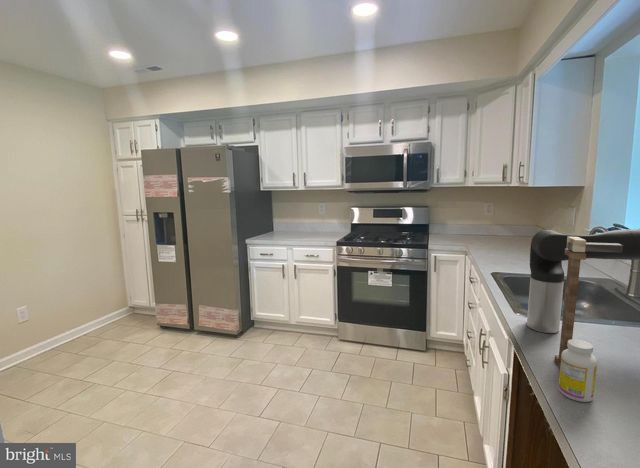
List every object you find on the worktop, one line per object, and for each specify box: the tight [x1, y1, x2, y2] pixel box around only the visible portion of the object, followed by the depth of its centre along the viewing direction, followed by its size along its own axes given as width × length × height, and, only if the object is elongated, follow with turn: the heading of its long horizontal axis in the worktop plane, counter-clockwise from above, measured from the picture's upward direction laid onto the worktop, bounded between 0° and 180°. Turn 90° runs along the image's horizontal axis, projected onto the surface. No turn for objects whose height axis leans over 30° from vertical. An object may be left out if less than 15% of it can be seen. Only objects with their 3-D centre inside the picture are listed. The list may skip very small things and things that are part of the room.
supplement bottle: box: [558, 338, 598, 403], centre depth 79 cm, size 7×7×13 cm
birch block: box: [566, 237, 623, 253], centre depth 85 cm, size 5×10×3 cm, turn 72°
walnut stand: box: [554, 249, 586, 368], centre depth 89 cm, size 6×2×32 cm, turn 162°
